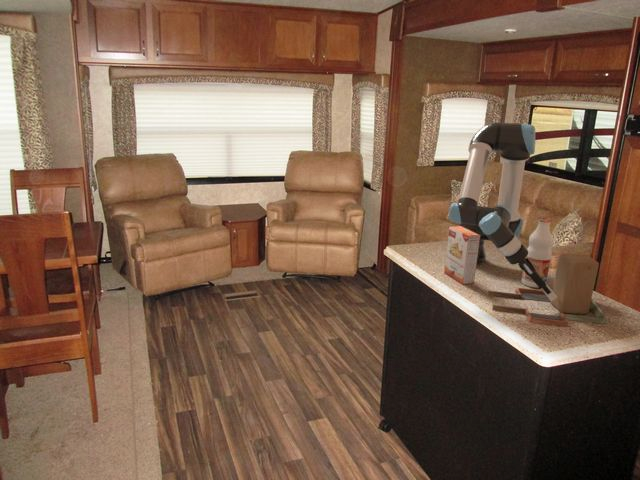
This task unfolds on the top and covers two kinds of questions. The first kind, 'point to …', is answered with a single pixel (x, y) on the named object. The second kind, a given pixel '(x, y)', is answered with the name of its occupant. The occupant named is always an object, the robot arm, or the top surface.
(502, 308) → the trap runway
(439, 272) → the top surface
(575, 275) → the wooden block
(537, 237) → the fruit juice
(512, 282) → the top surface
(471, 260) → the cracker box
